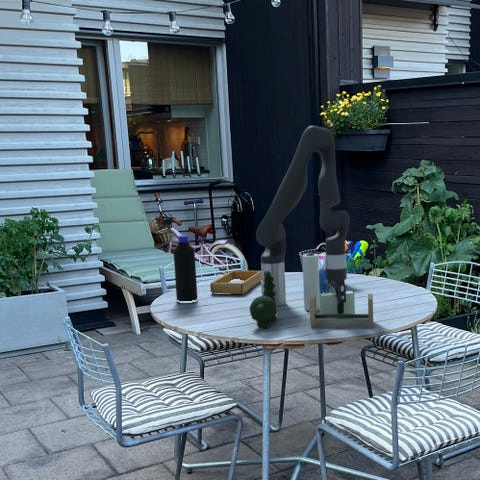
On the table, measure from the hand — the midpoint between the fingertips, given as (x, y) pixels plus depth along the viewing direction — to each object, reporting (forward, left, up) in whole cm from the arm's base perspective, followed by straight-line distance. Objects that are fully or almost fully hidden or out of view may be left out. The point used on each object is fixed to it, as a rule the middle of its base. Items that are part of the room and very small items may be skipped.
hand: (337, 310), depth 225 cm
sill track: (+2, -10, -2) cm, 10 cm away
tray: (-48, +52, -3) cm, 70 cm away
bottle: (-64, +25, -3) cm, 69 cm away
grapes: (-6, +36, -3) cm, 37 cm away
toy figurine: (-25, -8, -3) cm, 26 cm away
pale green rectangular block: (0, 0, -3) cm, 3 cm away
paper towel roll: (-10, +12, -3) cm, 16 cm away
